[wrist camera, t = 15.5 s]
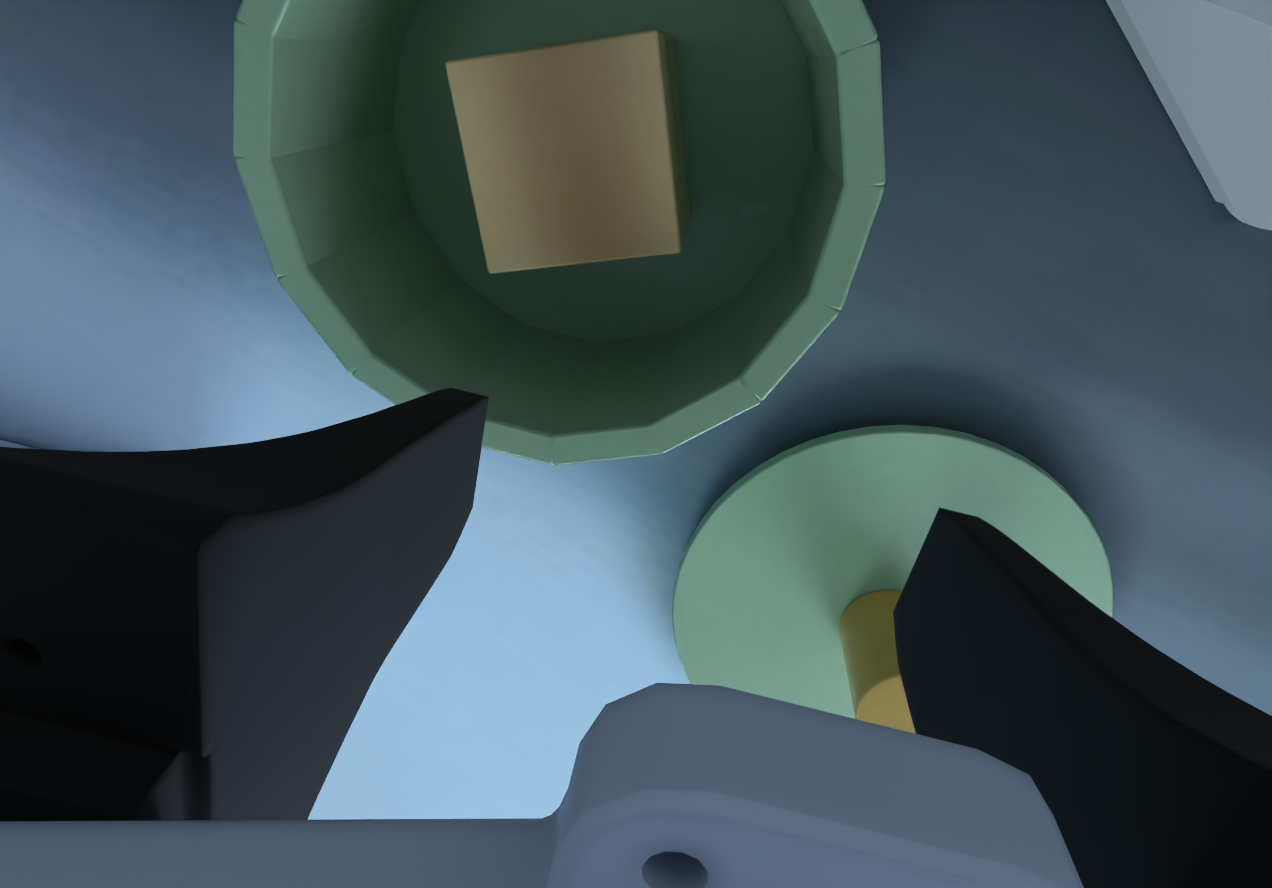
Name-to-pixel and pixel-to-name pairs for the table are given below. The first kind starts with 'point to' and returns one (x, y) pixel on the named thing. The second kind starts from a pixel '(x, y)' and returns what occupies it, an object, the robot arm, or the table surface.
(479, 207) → the block
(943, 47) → the table surface
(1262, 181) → the phone holder
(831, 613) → the lid
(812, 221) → the tin
